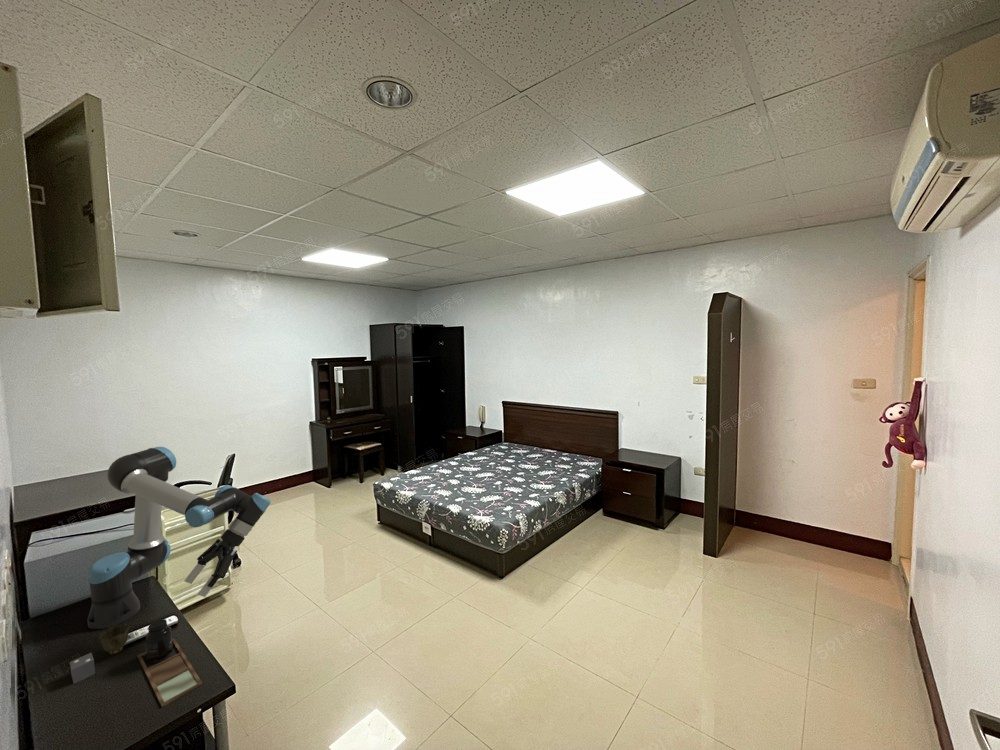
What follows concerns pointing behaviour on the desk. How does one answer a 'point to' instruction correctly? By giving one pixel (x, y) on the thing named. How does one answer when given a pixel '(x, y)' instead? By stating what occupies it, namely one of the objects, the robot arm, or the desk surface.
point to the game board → (171, 676)
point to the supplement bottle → (158, 641)
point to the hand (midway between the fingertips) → (194, 589)
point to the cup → (114, 638)
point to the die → (82, 668)
